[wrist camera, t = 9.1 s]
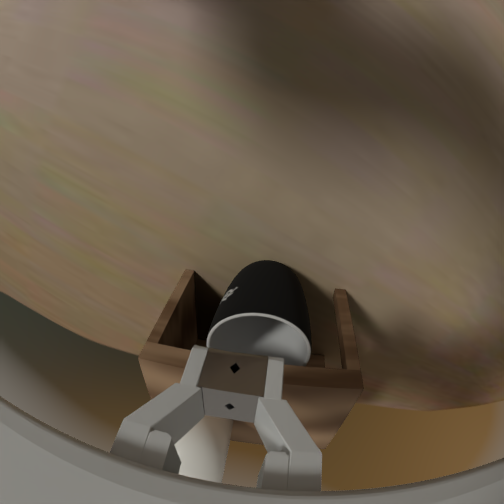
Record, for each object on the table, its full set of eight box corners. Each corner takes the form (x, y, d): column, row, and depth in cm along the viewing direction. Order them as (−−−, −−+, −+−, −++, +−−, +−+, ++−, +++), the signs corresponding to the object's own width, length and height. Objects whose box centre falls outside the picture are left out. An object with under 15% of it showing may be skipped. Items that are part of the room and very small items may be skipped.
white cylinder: (167, 393, 24) (144, 459, 18) (234, 407, 24) (219, 478, 17) (176, 423, 27) (157, 479, 21) (232, 434, 27) (220, 494, 20)
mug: (239, 237, 31) (217, 298, 22) (321, 263, 31) (329, 331, 22) (214, 319, 37) (193, 383, 28) (283, 339, 37) (278, 406, 28)
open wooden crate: (185, 269, 34) (138, 357, 22) (345, 289, 32) (363, 388, 21) (190, 342, 40) (160, 425, 28) (322, 360, 38) (325, 448, 27)
